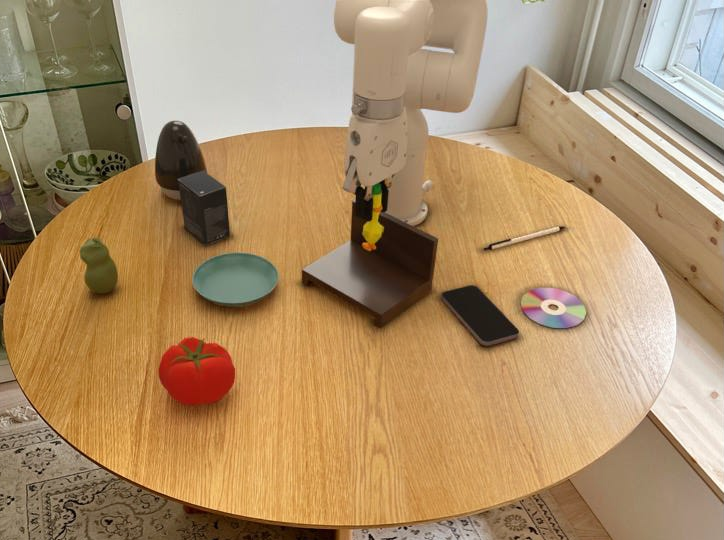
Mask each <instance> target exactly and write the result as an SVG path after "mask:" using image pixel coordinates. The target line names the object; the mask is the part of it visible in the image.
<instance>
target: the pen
mask: <svg viewBox="0 0 724 540" xmlns="http://www.w3.org/2000/svg"><path fill="white" fill-rule="evenodd" d="M565 228H566V226H555V227H551V228H547V229H544V230H540V231H537V232H534V233H530V234H526V235H521V236H519V237H515V238H508V239H504V240H501V241H497V242H493V243H490V244H489V245H488V246H487V247H484V248H483V250H484V251H487V250H489V251H492V250H495V249H499V248H502V247H506V246H509V245H513V244H518V243H520V242H524V241H528V240H532V239H536V238H539V237H543V236H547V235H550V234H554V233H557V232H560V231H562V230H564V229H565Z"/></svg>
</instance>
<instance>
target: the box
mask: <svg viewBox="0 0 724 540" xmlns="http://www.w3.org/2000/svg"><path fill="white" fill-rule="evenodd" d="M178 184H179V191H180V198H181V200H180V204H181V205H180V206H181V212H182V219H183V226H184V227H183V228H184V229H185V230H187V232H189V233H190V234H191V235H192V236H194V237H195V238H196V239H197V240H198V241H199V242H201V244H203V245H204V246H209V245H211V244H215V243H217V242H220V241H222V240H224V239H228V238H230V236H231V230H230V218H229V217H230V216H229V206H228V195H227V193H228V192H227V187H226V186H225V185H224V184H222V183H221V182H220V181H218V180H217V179H216V178H214V177H213V176H212V175H210V174H208V172H207V173H206V172H205V171H200V172H197V173H194V174H191V175H188V176H185V177H181V178H179V179H178Z"/></svg>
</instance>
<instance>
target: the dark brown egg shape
mask: <svg viewBox="0 0 724 540" xmlns="http://www.w3.org/2000/svg"><path fill="white" fill-rule="evenodd" d="M200 171H205V172H206V173H207V174H208V169H207V165H206V161H205V157H204V154H203V152H202V149H201V147H200V144H199V142H198V140H197V138H196V136H195V134H194V132H193V131H192V130H191V129H190V127H189V126H188V125H187V124H186V123H185V122H183V121H181V120H171V121H168V122H166V123H165V124H164V125H163V127H162V129H161V131H160V133H159V136H158V139H157V144H156V149H155V158H154V177H155V181H156V183H157V184H158V186H159V188H160V190H161V191H162V192H163V193H164V194H165V196H167V197H168V198H171V199H172V200H176V201H181V198H180V191H179V184H178V179H179V178H181V177H185V176H188V175H191V174H194V173H197V172H200Z"/></svg>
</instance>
